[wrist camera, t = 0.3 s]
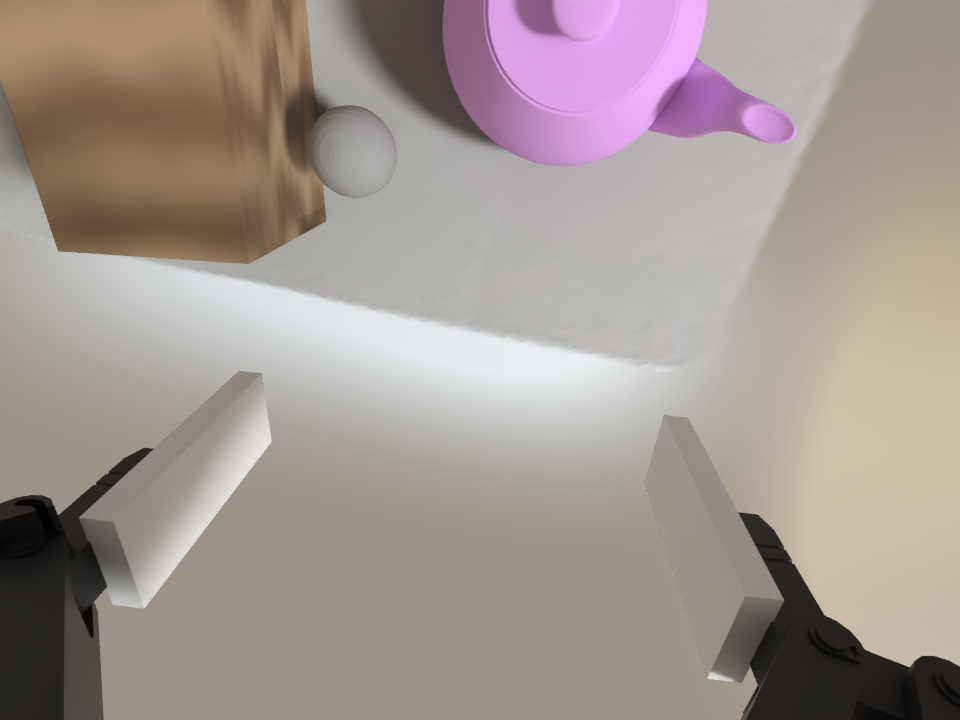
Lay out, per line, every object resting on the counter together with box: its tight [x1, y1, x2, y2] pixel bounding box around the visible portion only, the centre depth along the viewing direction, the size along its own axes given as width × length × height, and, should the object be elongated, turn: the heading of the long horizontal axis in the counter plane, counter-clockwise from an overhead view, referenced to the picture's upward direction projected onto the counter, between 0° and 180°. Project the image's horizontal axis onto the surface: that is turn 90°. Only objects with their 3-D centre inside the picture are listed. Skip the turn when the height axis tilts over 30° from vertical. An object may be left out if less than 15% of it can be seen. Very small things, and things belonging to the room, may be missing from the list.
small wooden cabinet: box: [0, 0, 326, 264], centre depth 32 cm, size 16×12×13 cm
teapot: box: [442, 0, 797, 166], centre depth 29 cm, size 22×16×14 cm
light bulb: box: [308, 105, 396, 198], centre depth 34 cm, size 6×5×10 cm
